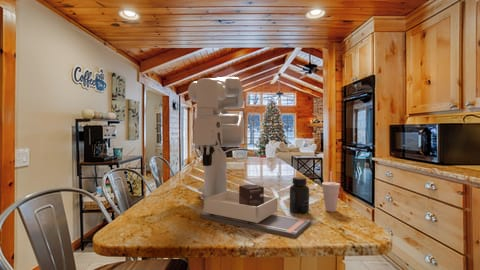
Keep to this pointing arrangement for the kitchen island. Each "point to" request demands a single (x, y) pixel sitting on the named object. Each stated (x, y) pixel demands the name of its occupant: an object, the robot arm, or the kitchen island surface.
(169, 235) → the kitchen island surface
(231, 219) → the rail board
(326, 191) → the smoothie
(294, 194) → the supplement bottle
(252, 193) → the box
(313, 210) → the kitchen island surface
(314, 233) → the kitchen island surface
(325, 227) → the kitchen island surface
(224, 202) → the white tray
